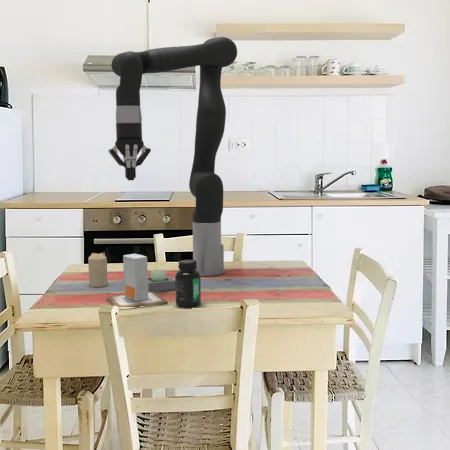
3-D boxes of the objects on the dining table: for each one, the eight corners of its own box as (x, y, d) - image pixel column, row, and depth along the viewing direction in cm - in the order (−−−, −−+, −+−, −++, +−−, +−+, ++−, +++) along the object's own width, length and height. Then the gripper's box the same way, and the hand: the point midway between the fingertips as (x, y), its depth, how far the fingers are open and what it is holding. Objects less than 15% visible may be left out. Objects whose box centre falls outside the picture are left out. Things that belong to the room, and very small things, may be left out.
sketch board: (154, 294, 193) (154, 290, 193) (167, 304, 182) (167, 300, 182) (106, 299, 187) (106, 296, 187) (117, 310, 177) (117, 306, 176)
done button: (163, 283, 201) (162, 269, 201) (168, 286, 198) (167, 272, 197) (149, 285, 200) (148, 270, 199) (153, 288, 196) (153, 273, 195)
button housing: (167, 284, 204) (166, 275, 204) (175, 290, 197) (175, 280, 196) (141, 287, 201) (141, 277, 200) (149, 293, 194) (149, 283, 193)
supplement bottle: (203, 307, 179) (202, 263, 177) (177, 309, 177) (176, 264, 176) (198, 300, 185) (197, 258, 184) (174, 302, 184) (173, 259, 182)
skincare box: (123, 297, 186) (122, 255, 184) (136, 294, 188) (135, 253, 187) (136, 301, 181) (134, 258, 179) (149, 299, 184) (147, 256, 182)
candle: (108, 282, 207) (107, 251, 206) (106, 287, 202) (105, 254, 200) (90, 283, 207) (89, 251, 206) (87, 287, 202) (86, 255, 200)
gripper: (146, 121, 204) (148, 178, 206) (103, 121, 198) (105, 180, 201) (154, 121, 197) (155, 180, 199) (109, 121, 191) (112, 182, 194)
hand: (130, 180), depth 200 cm, fingers closed
